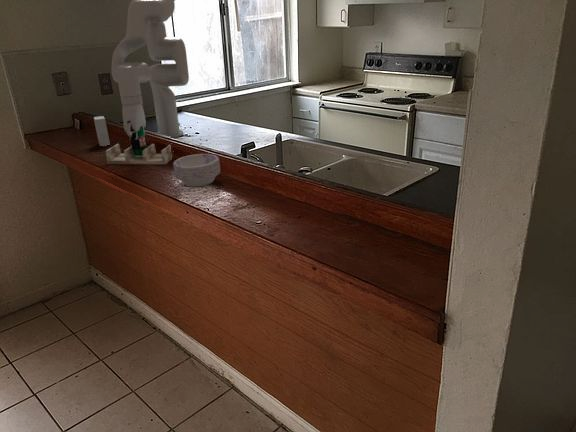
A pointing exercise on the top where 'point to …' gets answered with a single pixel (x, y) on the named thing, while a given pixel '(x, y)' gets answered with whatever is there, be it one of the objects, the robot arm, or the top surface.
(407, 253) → the top surface
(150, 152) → the can rack
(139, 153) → the soda can
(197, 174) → the paper bowls
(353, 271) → the top surface
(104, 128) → the skincare box
